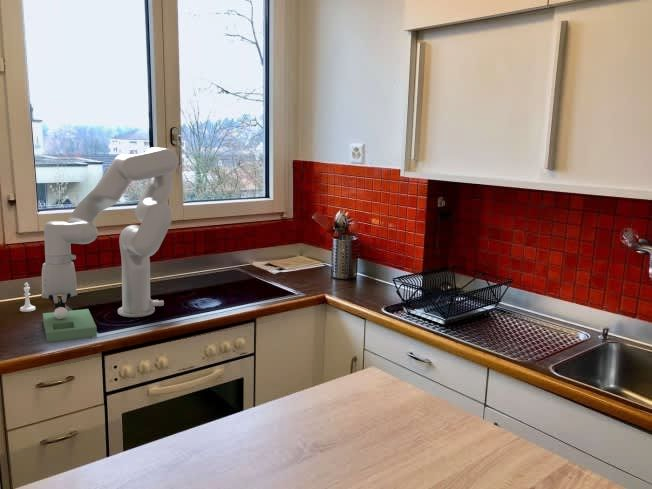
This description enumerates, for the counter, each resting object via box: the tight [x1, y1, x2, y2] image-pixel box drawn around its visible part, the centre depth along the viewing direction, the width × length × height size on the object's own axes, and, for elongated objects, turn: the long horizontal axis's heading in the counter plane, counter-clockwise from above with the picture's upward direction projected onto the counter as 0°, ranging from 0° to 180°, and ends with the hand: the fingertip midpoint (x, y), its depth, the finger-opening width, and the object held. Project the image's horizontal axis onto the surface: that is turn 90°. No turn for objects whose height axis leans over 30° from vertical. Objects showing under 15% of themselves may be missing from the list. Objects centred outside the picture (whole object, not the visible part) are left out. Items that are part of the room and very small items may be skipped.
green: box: [42, 308, 98, 343], centre depth 178 cm, size 14×20×3 cm
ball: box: [53, 307, 68, 319], centre depth 178 cm, size 4×4×4 cm
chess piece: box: [19, 281, 37, 313], centre depth 194 cm, size 5×5×10 cm
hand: (60, 313), depth 181 cm, fingers closed
